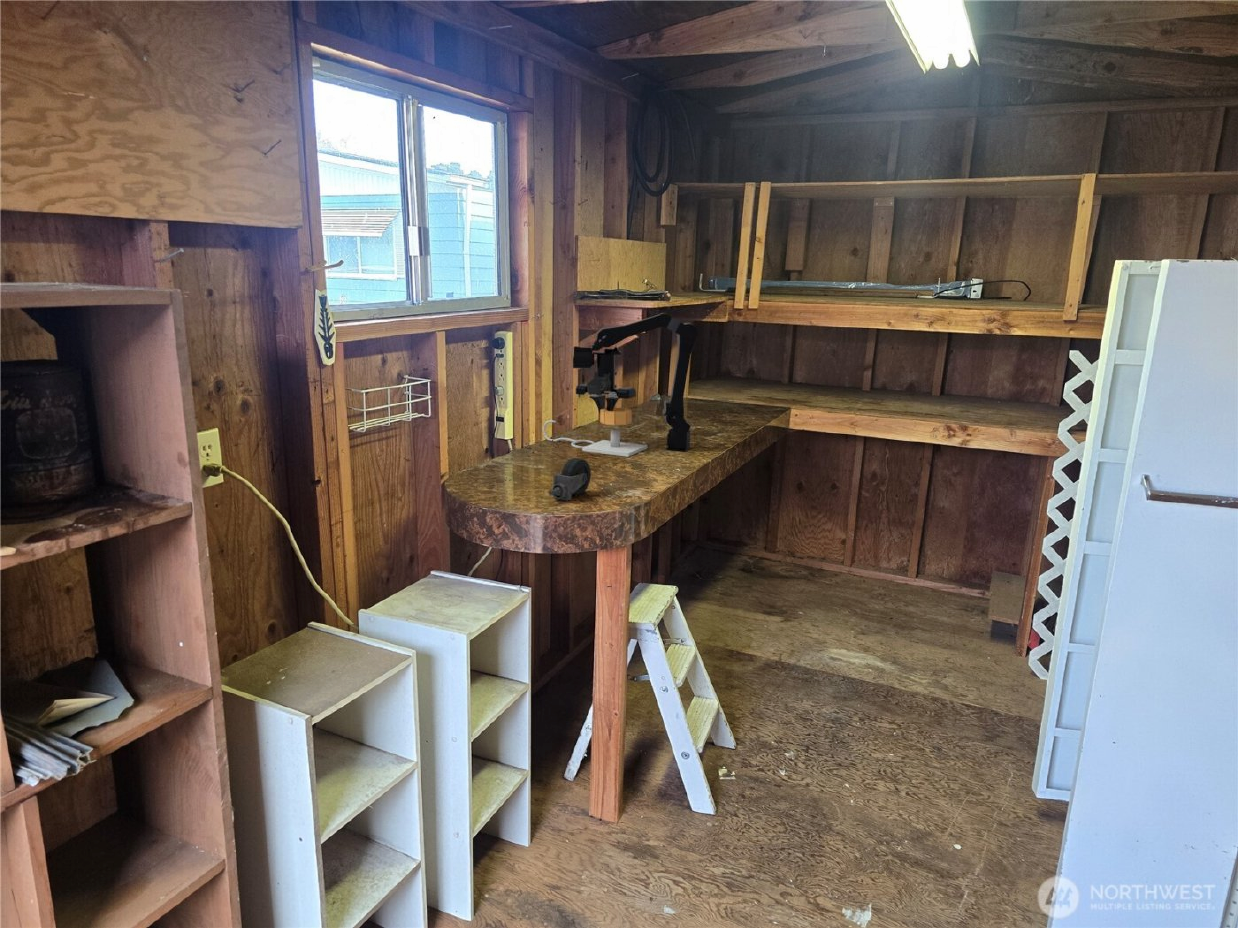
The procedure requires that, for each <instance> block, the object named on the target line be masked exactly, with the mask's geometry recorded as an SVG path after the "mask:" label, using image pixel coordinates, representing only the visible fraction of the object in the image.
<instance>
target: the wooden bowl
mask: <svg viewBox="0 0 1238 928" xmlns="http://www.w3.org/2000/svg"><path fill="white" fill-rule="evenodd" d="M632 414H633V413H632V409H631V408H626V407H614V409H613V411H607V407H605V408H604V409H601V410H600V413H599V416H600V417H599V419H600V423H601V424H603V425H607V426H626V425H630V424H632V421H633V420H632V419H633V415H632Z"/></svg>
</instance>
